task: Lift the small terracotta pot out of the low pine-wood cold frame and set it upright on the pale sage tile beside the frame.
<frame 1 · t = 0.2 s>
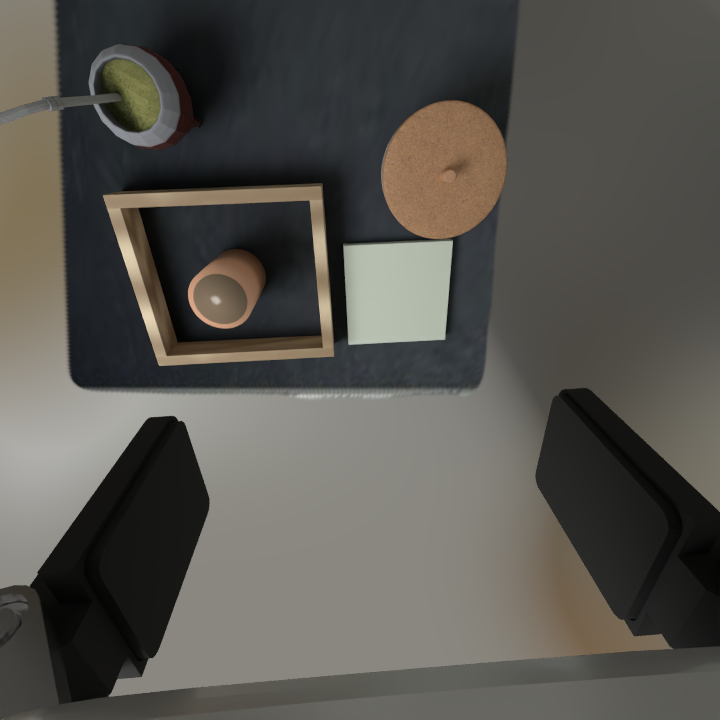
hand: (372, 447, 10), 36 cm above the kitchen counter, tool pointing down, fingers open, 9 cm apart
mate gourd: (165, 109, 36), on the kitchen counter
sage tile: (396, 293, 46), on the kitchen counter
terracotta pot: (230, 286, 40), in the cold frame
lidded jar: (426, 170, 40), on the kitchen counter
cold frame: (239, 275, 44), on the kitchen counter
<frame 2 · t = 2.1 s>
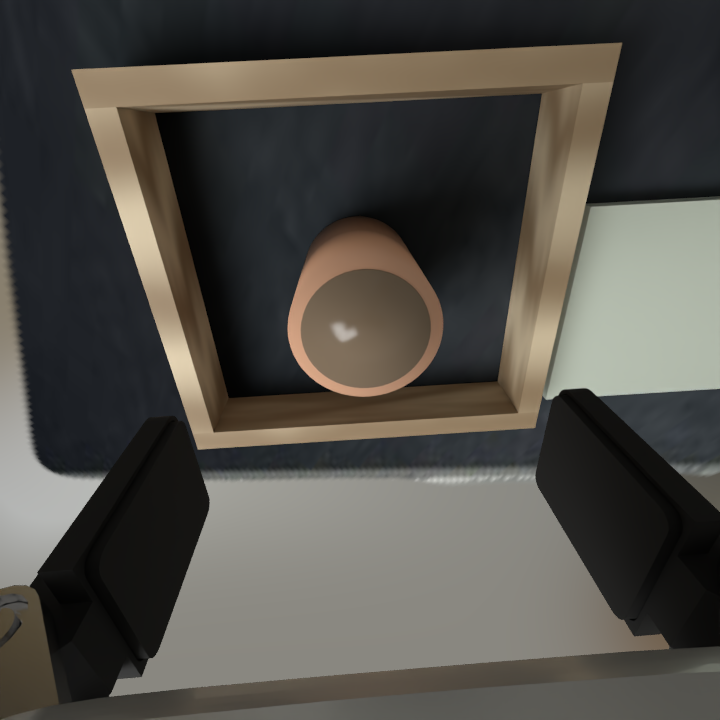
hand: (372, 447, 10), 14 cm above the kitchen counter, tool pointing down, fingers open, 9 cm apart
sage tile: (654, 303, 24), on the kitchen counter
terracotta pot: (361, 297, 18), in the cold frame
cold frame: (358, 272, 22), on the kitchen counter
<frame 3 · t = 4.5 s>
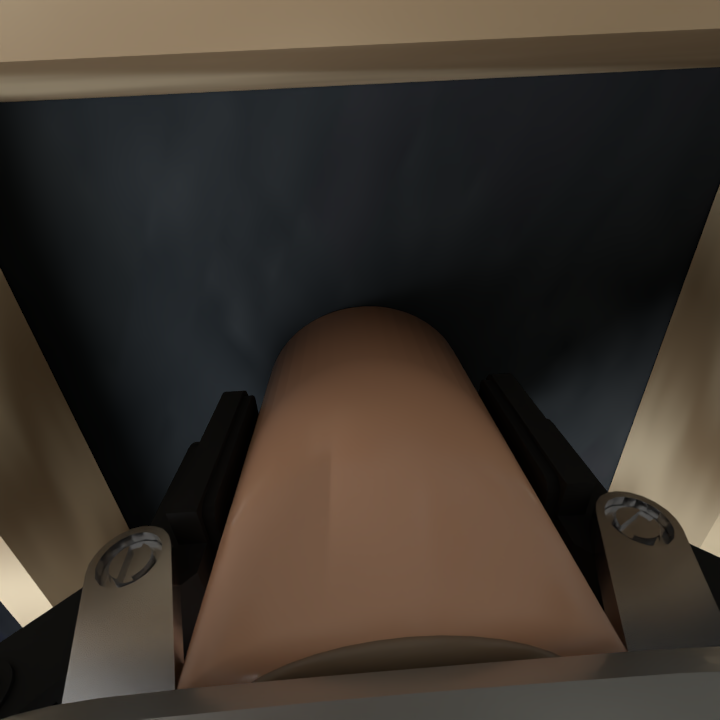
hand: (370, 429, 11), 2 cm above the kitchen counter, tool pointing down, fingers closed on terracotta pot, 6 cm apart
terracotta pot: (378, 499, 9), in the cold frame, touching gripper
cold frame: (366, 397, 12), on the kitchen counter
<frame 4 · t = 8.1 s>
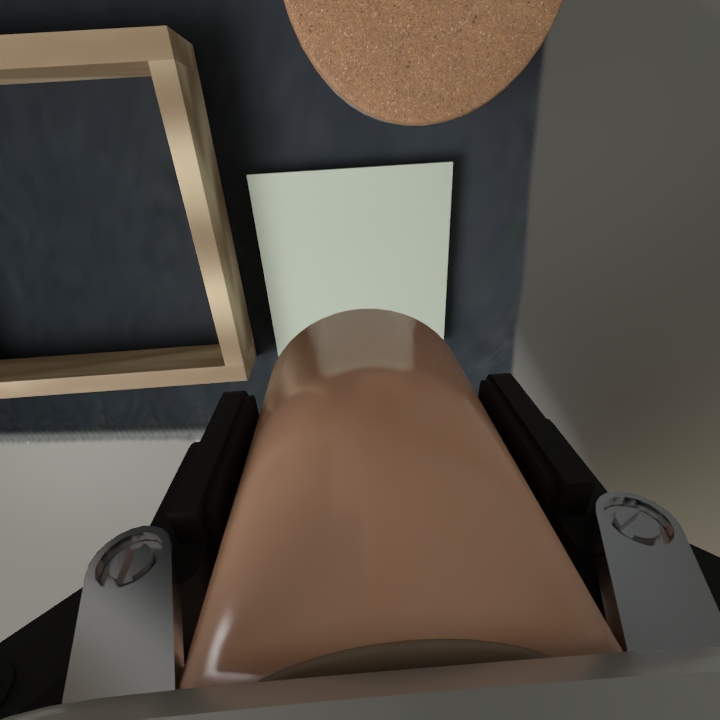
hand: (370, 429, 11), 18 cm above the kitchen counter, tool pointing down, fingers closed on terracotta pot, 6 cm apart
sage tile: (355, 266, 26), on the kitchen counter
terracotta pot: (378, 501, 9), point 20 cm above the kitchen counter, touching gripper
lidded jar: (397, 14, 20), on the kitchen counter
cold frame: (68, 239, 24), on the kitchen counter
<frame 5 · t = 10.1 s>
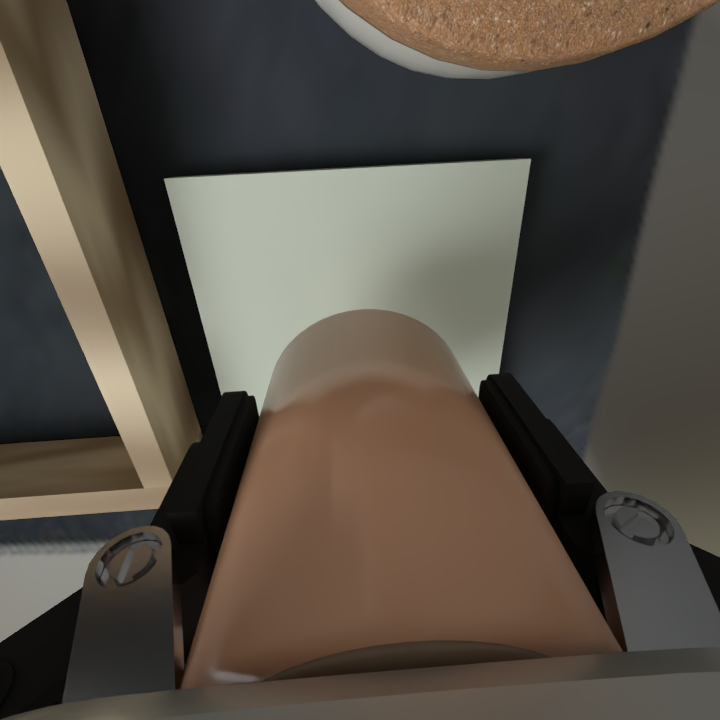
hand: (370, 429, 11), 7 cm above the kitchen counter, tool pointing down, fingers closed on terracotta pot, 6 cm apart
sage tile: (357, 324, 16), on the kitchen counter
terracotta pot: (378, 502, 9), point 9 cm above the kitchen counter, touching gripper
when the fingers open (3 cm above the kitchen counter, at t = 11.7 s): terracotta pot stays where it is, resting on sage tile.
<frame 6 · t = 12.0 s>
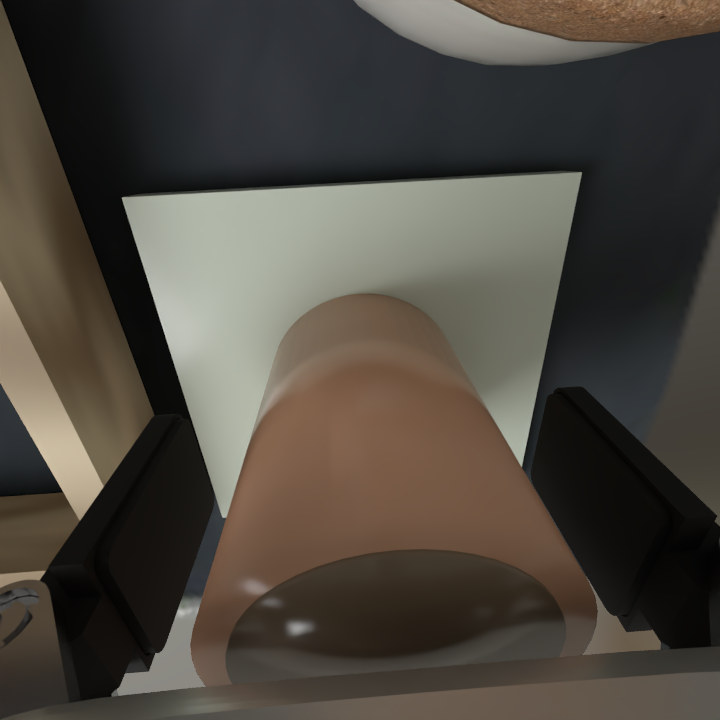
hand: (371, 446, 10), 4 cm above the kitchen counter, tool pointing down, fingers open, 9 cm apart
sage tile: (362, 366, 14), on the kitchen counter
terracotta pot: (374, 467, 9), on the sage tile, point 5 cm above the kitchen counter
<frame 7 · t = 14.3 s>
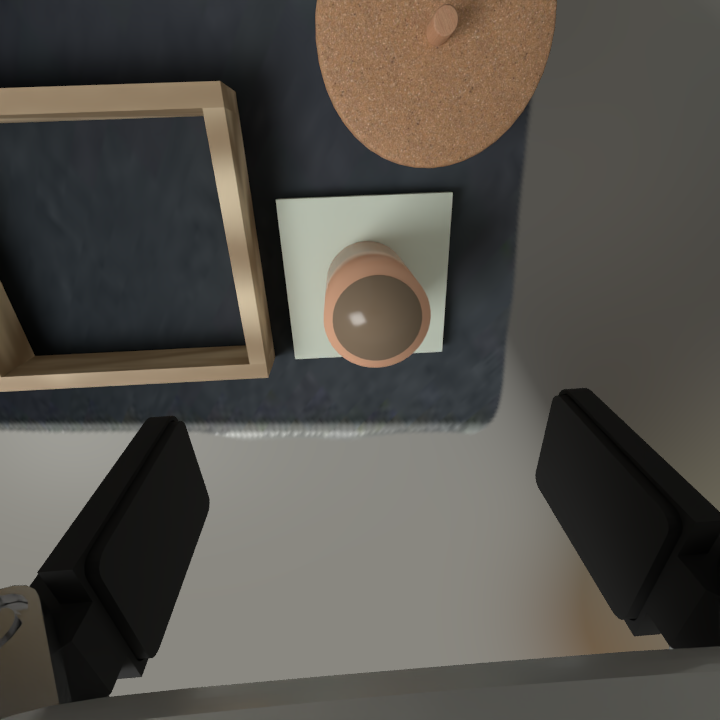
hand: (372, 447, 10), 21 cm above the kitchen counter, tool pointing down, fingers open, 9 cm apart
sage tile: (366, 279, 30), on the kitchen counter
terracotta pot: (371, 298, 25), on the sage tile, point 5 cm above the kitchen counter
lidded jar: (408, 71, 24), on the kitchen counter
cold frame: (116, 250, 28), on the kitchen counter
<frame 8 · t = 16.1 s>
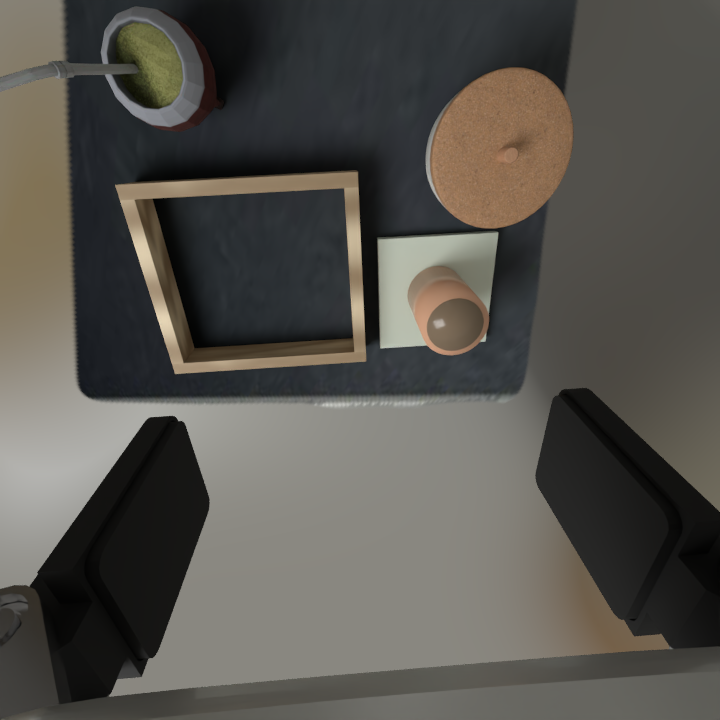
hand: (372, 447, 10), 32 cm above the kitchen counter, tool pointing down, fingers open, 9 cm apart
mate gourd: (183, 89, 33), on the kitchen counter
sage tile: (433, 291, 42), on the kitchen counter
terracotta pot: (444, 308, 37), on the sage tile, point 5 cm above the kitchen counter
lidded jar: (471, 154, 36), on the kitchen counter
cold frame: (262, 274, 40), on the kitchen counter
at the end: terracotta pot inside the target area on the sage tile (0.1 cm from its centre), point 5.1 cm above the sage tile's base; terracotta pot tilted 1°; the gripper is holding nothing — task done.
